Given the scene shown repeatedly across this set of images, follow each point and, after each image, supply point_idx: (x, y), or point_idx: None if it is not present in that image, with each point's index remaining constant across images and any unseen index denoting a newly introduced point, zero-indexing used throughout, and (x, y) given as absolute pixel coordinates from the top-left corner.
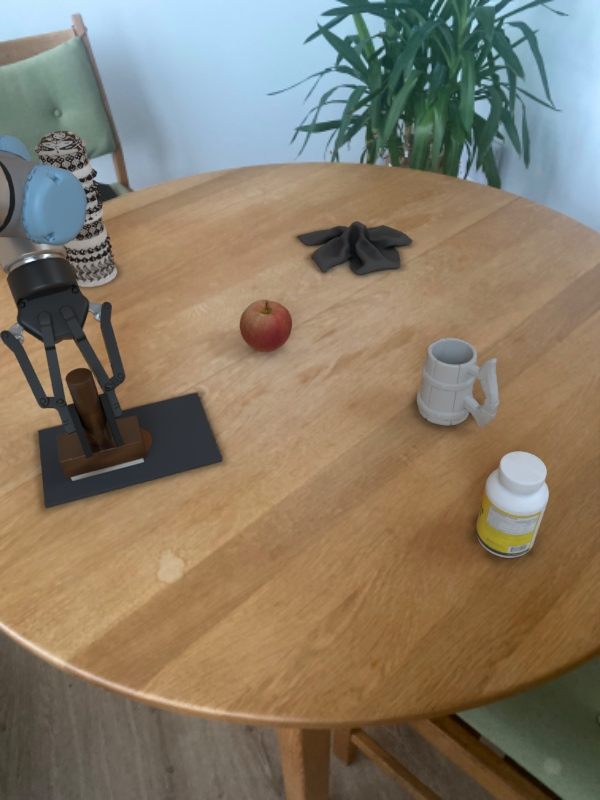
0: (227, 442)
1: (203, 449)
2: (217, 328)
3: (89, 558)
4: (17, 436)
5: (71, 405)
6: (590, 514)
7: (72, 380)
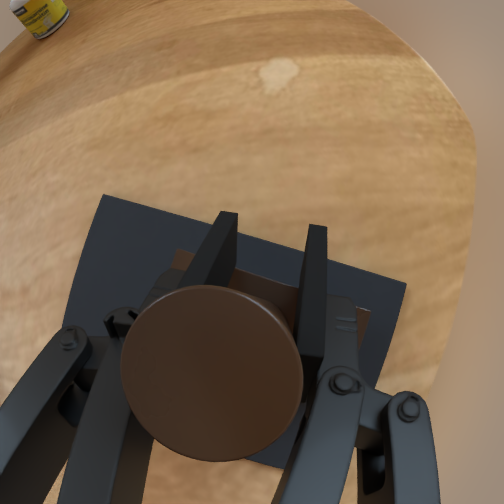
0: (79, 230)
1: (109, 229)
2: None
3: (373, 142)
4: None
5: (308, 348)
6: (20, 34)
7: (262, 364)
